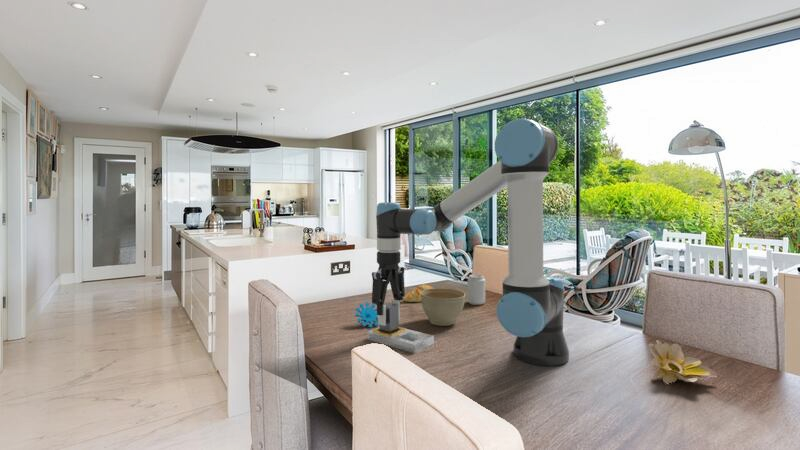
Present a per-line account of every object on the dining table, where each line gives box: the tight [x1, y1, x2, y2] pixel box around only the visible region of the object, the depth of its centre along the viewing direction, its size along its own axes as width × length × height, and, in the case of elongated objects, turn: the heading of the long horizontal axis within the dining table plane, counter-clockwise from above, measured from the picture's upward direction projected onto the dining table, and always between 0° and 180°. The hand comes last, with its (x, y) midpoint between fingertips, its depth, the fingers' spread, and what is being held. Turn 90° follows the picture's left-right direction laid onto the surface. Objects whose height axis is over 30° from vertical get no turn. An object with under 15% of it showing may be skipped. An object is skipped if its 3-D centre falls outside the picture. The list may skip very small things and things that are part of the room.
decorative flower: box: [648, 339, 718, 384], centre depth 101 cm, size 15×11×10 cm
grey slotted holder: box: [366, 326, 435, 354], centre depth 130 cm, size 19×10×3 cm, turn 51°
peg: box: [378, 302, 400, 334], centre depth 133 cm, size 4×4×11 cm
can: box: [466, 274, 486, 306], centre depth 175 cm, size 8×8×12 cm
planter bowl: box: [421, 287, 466, 327], centre depth 149 cm, size 16×16×11 cm
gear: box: [354, 301, 379, 329], centre depth 148 cm, size 11×6×10 cm
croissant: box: [402, 283, 434, 303], centre depth 183 cm, size 21×10×8 cm
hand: (388, 321), depth 133 cm, fingers open, 6 cm apart
